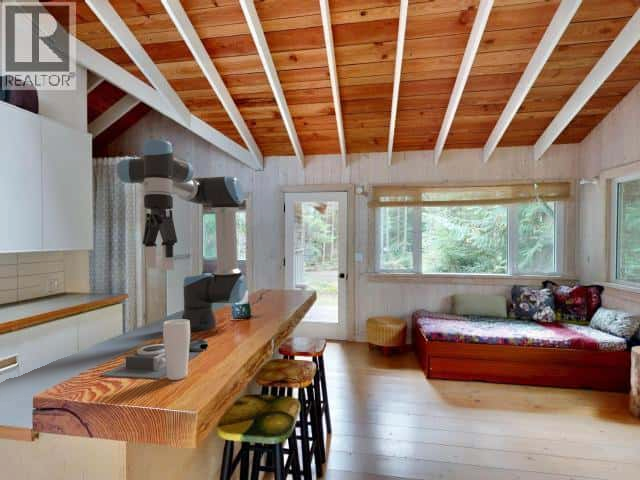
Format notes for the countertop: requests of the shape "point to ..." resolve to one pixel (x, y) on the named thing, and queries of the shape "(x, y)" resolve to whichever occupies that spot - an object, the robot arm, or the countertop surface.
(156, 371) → the flat gray baseplate
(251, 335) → the countertop surface
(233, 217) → the robot arm
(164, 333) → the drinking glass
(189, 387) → the countertop surface
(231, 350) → the countertop surface
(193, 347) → the electronic device
